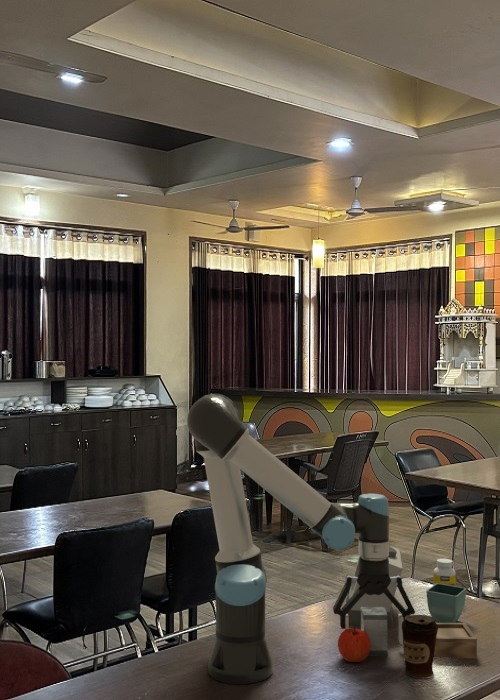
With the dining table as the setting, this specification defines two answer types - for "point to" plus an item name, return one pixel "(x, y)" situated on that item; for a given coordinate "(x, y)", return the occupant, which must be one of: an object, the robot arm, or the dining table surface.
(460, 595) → the flower pot
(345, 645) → the apple
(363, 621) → the block
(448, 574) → the pill bottle
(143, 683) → the dining table surface
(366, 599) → the alarm clock
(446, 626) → the walnut stand
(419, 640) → the coffee cup
